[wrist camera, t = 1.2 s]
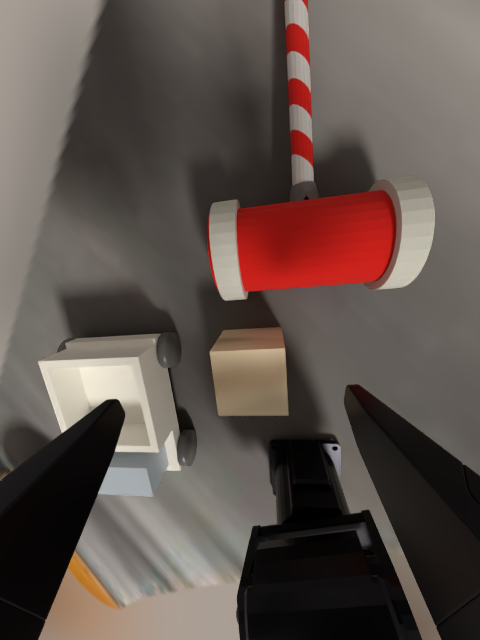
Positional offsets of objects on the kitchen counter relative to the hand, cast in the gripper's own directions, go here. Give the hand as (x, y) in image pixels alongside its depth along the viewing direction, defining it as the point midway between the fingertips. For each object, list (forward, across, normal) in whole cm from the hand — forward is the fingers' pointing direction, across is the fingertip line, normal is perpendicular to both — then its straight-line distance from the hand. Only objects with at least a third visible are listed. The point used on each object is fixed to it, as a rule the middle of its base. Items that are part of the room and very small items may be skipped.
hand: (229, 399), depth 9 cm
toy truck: (+10, +11, +9) cm, 17 cm away
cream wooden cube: (+10, -1, +6) cm, 12 cm away
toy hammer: (+14, -5, -8) cm, 17 cm away
